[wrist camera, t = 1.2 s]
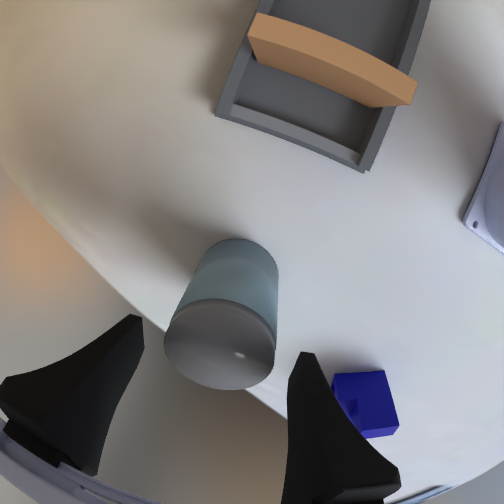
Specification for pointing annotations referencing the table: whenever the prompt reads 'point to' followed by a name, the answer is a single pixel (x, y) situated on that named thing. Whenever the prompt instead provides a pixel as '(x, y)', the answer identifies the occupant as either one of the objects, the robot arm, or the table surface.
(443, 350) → the table surface
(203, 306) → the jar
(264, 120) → the tray
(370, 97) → the bar
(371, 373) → the cable clip
